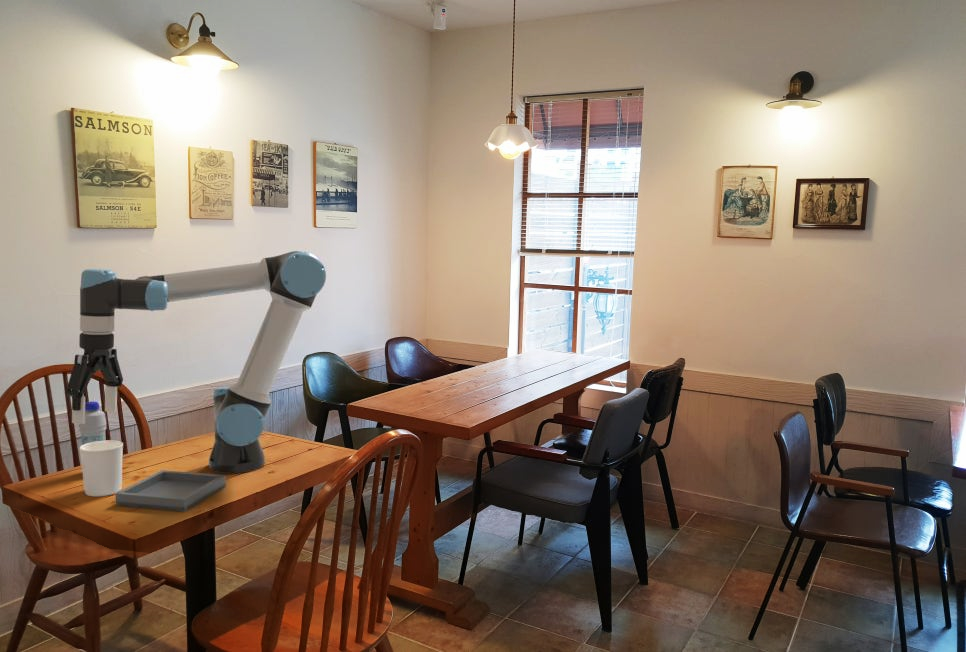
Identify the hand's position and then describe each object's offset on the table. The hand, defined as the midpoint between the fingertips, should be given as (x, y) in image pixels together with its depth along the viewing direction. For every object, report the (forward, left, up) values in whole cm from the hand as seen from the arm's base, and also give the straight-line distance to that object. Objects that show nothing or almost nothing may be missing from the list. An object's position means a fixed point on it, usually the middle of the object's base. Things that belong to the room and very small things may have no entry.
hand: (95, 417), depth 181 cm
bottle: (-15, -13, -20) cm, 28 cm away
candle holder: (-3, -1, -20) cm, 20 cm away
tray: (-4, +18, -20) cm, 27 cm away
